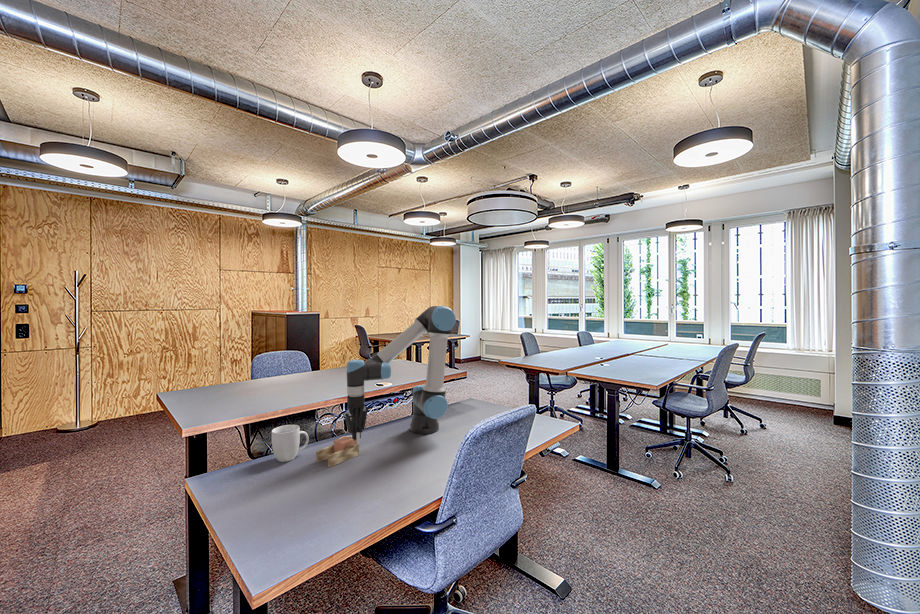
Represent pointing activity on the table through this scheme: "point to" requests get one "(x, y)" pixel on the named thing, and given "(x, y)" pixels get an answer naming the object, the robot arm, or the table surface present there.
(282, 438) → the mug
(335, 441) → the block
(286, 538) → the table surface
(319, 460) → the tan boxy piece
